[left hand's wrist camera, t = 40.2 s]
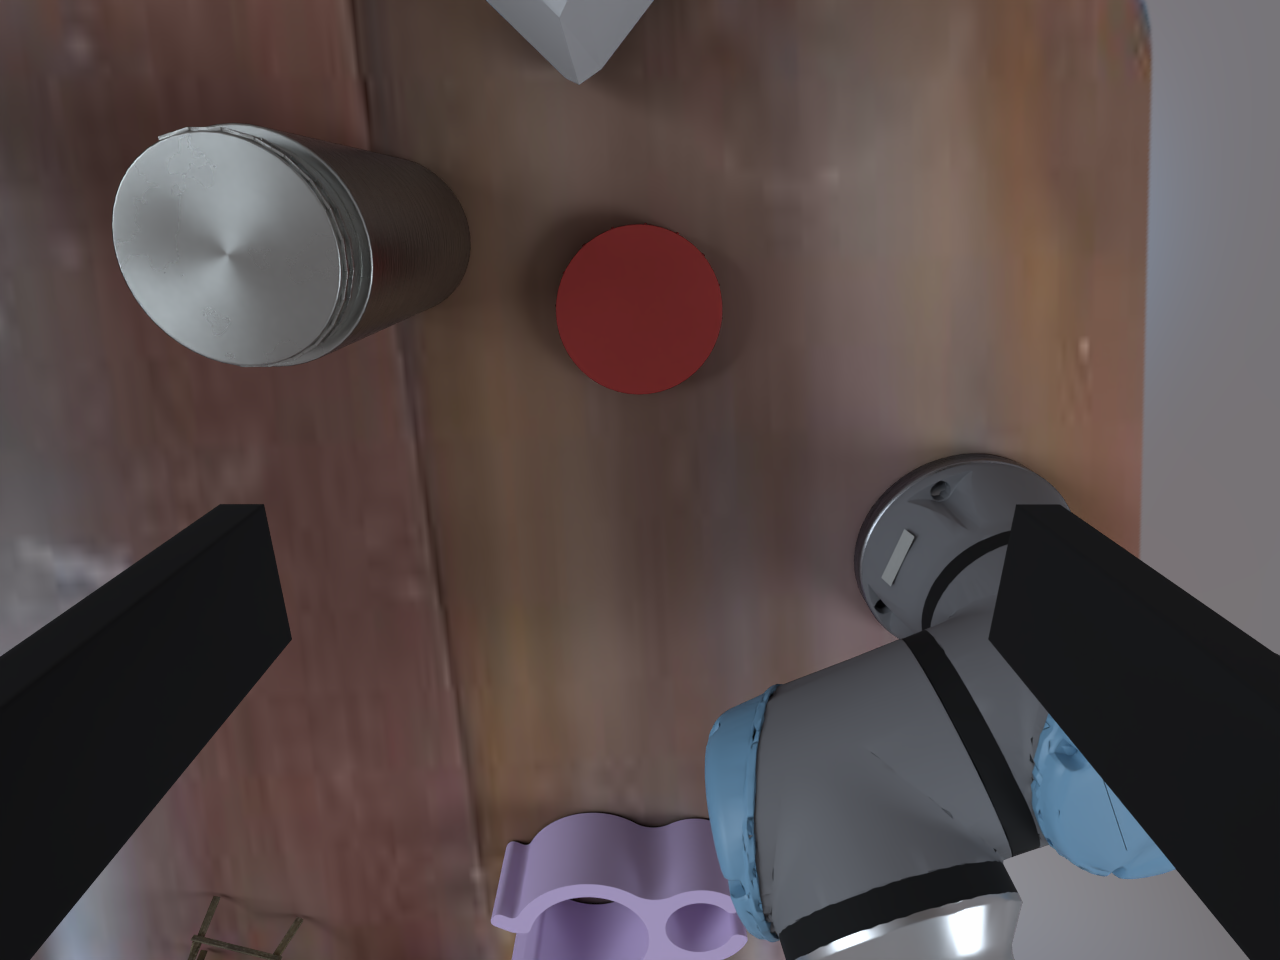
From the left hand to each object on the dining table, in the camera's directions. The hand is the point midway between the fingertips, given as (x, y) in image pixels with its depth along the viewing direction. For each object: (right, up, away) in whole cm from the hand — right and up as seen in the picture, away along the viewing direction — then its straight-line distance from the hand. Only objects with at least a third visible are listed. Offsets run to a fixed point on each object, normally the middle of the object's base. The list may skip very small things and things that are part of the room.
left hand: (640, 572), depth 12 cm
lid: (0, +12, +31) cm, 34 cm away
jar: (-15, +17, +32) cm, 39 cm away
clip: (-2, -33, +51) cm, 60 cm away
